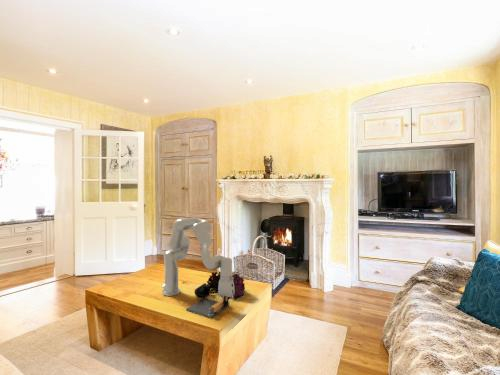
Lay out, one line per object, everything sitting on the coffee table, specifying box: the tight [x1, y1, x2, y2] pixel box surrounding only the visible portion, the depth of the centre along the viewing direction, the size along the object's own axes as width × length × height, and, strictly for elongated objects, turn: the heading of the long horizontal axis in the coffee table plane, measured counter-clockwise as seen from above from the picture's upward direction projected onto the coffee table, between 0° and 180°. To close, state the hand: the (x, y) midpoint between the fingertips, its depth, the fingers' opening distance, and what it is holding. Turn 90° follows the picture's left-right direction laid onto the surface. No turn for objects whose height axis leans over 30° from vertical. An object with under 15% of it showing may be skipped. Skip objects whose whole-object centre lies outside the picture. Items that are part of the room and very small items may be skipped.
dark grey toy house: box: [194, 282, 211, 299], centre depth 186 cm, size 10×7×7 cm
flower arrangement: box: [206, 270, 246, 300], centre depth 192 cm, size 31×20×15 cm, turn 64°
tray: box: [186, 297, 229, 319], centre depth 167 cm, size 20×18×2 cm
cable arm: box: [209, 299, 223, 314], centre depth 163 cm, size 18×3×3 cm, turn 152°
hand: (225, 306), depth 165 cm, fingers closed
